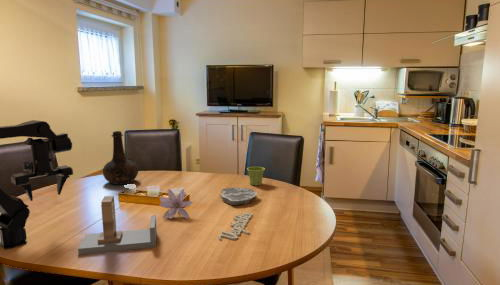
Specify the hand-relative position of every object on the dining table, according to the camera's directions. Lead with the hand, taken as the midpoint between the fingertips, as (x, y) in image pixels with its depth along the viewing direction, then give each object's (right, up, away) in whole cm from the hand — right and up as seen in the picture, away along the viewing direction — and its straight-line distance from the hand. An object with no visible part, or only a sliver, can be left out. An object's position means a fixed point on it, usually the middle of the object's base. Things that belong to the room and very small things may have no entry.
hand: (45, 197), depth 129 cm
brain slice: (+69, -7, +38) cm, 79 cm away
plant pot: (+78, -3, +61) cm, 99 cm away
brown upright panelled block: (+27, -13, -8) cm, 31 cm away
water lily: (+44, -11, +17) cm, 48 cm away
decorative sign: (+71, -13, +7) cm, 72 cm away
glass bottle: (+4, -2, +64) cm, 64 cm away
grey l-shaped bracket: (+30, -15, -7) cm, 34 cm away
